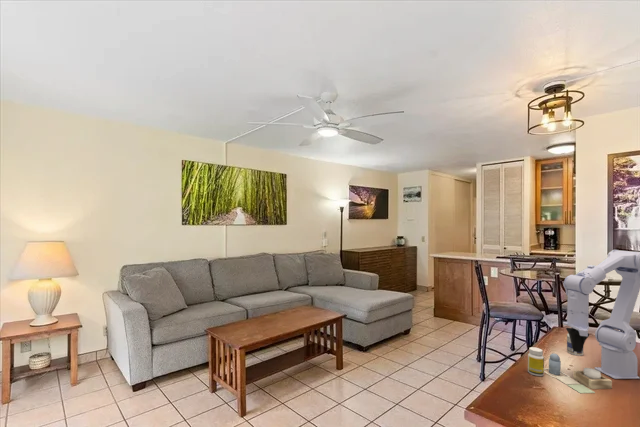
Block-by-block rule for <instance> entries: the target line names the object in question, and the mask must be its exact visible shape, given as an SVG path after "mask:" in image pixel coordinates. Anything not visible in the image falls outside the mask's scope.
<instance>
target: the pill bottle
mask: <svg viewBox="0 0 640 427" xmlns="http://www.w3.org/2000/svg"><path fill="white" fill-rule="evenodd" d="M566 352H567V353H568V354H570V355H573V356H583V355H584V348H583V349H582V352H575V351H573V349H572V345H571V340H570V336H569V334H568V333H567V334H566Z"/></svg>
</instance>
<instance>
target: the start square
mask: <svg viewBox="0 0 640 427" xmlns="http://www.w3.org/2000/svg"><path fill="white" fill-rule="evenodd" d="M546 370H547V371H549V367H547V368H545V367H544V374H547V375H548V376H550V377H551V378H555V377H570V378H571V376H570V375H568V374H567V373H565V372H563V371H561V374H563V375H553V374H550V373H549V372H547V371H546ZM555 379H556V378H555Z"/></svg>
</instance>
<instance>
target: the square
mask: <svg viewBox="0 0 640 427" xmlns="http://www.w3.org/2000/svg"><path fill="white" fill-rule="evenodd" d="M555 379H556V380H558V381H559V382H561V383H563V384H565V385H581V383H580V382H578V381H577V380H575V379H573V378H571V376H570V377H555Z"/></svg>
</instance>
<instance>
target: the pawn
mask: <svg viewBox="0 0 640 427" xmlns="http://www.w3.org/2000/svg"><path fill="white" fill-rule="evenodd" d="M561 365H562V364H561V358H560V355H558V354H557V353H551V354H550V355H549V358H548V368H549V370H548V373H549V374H550V375H552V376H561V374H562V373H561Z"/></svg>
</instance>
